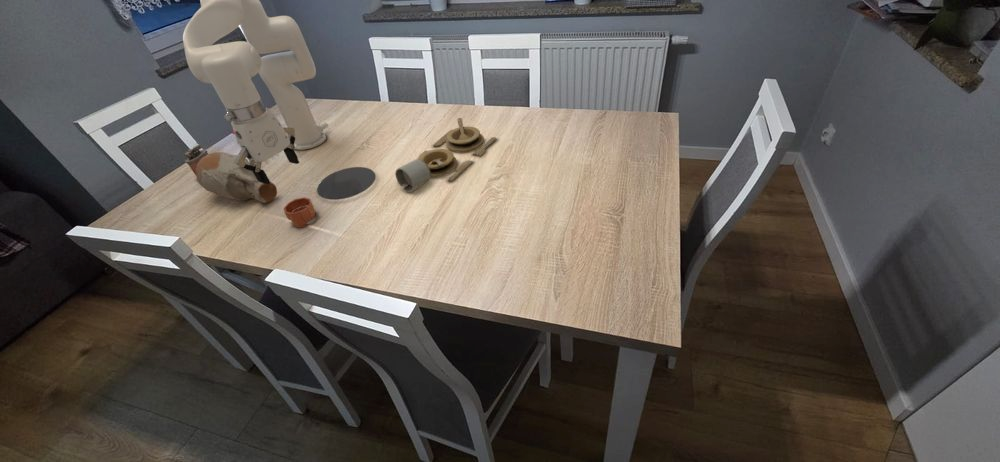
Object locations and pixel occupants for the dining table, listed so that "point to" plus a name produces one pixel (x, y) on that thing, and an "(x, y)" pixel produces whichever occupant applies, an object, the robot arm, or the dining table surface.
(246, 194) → the amphora
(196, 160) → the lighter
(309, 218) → the cup
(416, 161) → the ceramic mug
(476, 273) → the dining table surface
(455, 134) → the tableware set
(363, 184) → the plate
